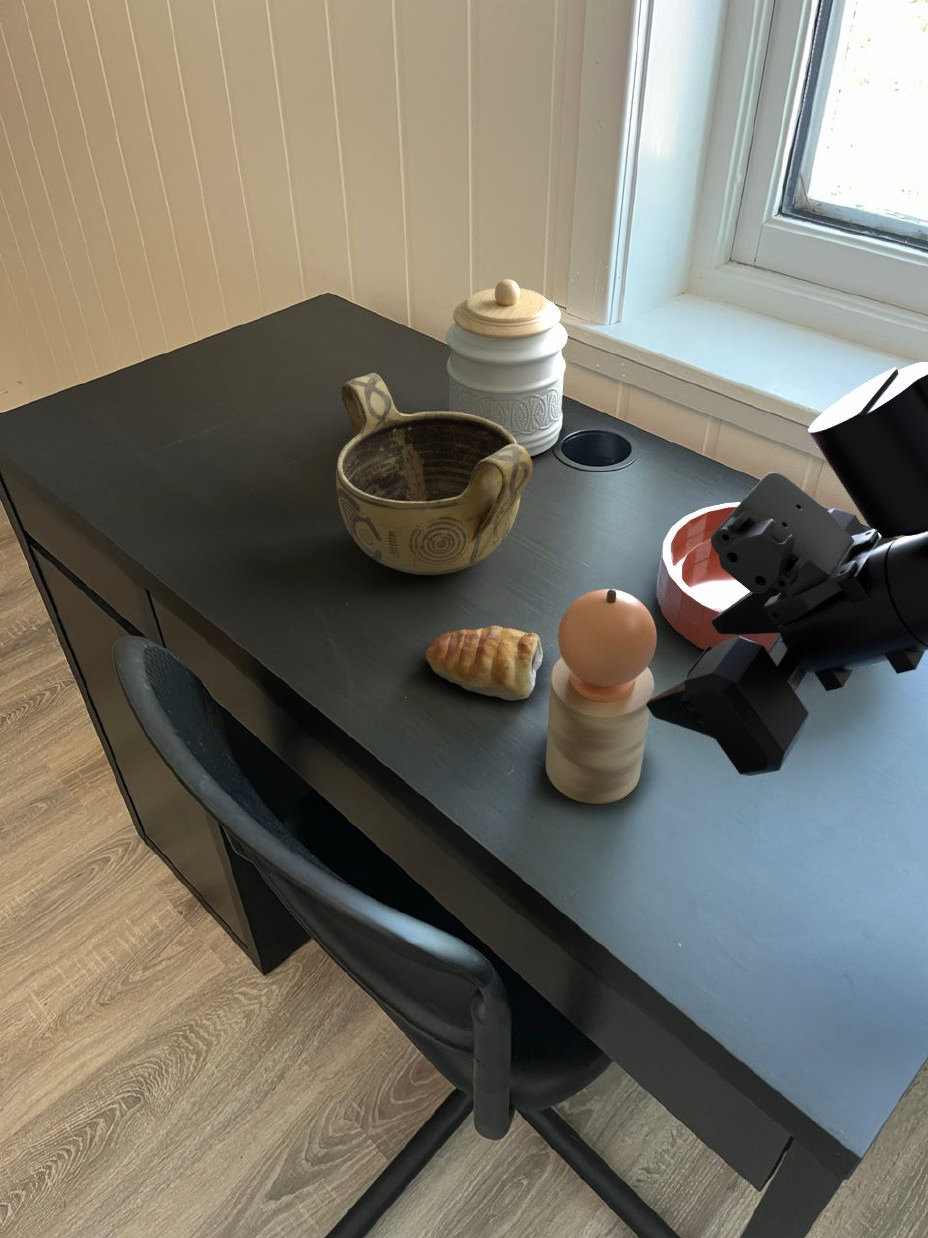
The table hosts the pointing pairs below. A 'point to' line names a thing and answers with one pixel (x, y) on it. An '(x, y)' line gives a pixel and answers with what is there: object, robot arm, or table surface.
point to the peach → (606, 643)
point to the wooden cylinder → (596, 739)
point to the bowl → (699, 580)
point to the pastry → (488, 660)
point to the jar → (509, 363)
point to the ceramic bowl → (426, 482)
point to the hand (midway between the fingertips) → (684, 666)
